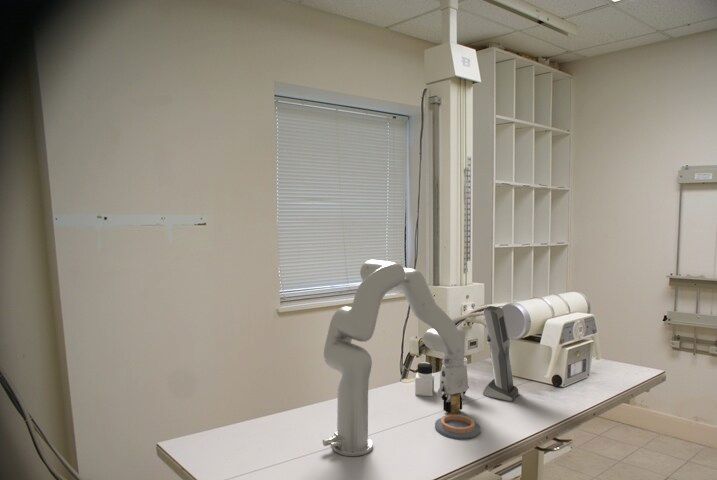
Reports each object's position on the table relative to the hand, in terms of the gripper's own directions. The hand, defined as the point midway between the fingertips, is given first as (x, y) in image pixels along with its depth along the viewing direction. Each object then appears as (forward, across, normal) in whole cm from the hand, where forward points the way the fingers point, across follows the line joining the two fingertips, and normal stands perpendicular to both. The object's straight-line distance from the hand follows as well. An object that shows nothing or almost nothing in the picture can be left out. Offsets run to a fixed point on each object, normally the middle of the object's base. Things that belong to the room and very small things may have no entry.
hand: (452, 409), depth 168 cm
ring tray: (+1, -8, -11) cm, 14 cm away
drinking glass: (+1, +13, +11) cm, 17 cm away
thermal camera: (+1, +29, +3) cm, 29 cm away
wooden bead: (+1, 0, 0) cm, 1 cm away
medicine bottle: (+1, +3, +20) cm, 20 cm away
